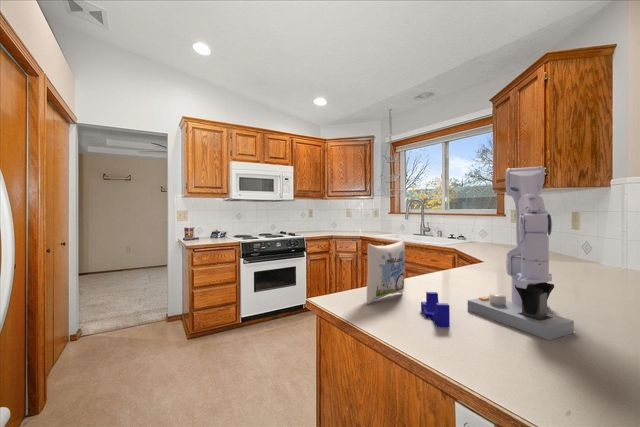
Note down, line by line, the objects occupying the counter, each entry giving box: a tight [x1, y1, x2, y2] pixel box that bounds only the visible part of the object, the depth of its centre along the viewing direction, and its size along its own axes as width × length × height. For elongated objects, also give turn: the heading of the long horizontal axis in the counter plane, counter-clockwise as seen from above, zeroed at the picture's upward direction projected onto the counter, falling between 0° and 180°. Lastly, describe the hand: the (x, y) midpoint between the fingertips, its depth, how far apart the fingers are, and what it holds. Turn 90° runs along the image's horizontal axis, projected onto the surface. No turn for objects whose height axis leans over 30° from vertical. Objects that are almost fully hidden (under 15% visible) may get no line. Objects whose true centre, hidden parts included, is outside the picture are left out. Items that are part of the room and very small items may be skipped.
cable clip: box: [420, 291, 451, 328], centre depth 80 cm, size 12×4×6 cm, turn 173°
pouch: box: [366, 239, 406, 305], centre depth 98 cm, size 8×19×20 cm, turn 124°
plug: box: [522, 291, 548, 321], centre depth 74 cm, size 4×4×7 cm
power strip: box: [467, 292, 575, 341], centre depth 78 cm, size 10×22×6 cm, turn 22°
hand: (534, 311), depth 74 cm, fingers closed on plug, 4 cm apart
